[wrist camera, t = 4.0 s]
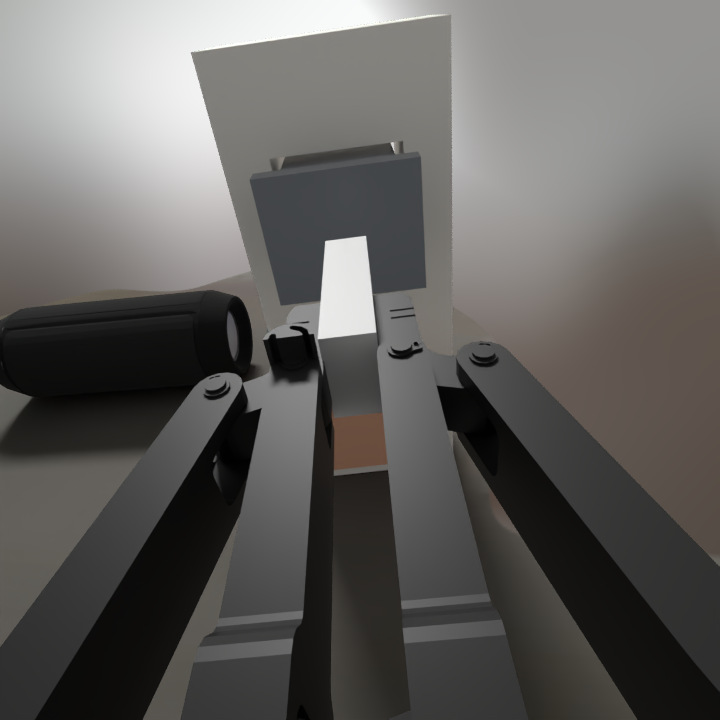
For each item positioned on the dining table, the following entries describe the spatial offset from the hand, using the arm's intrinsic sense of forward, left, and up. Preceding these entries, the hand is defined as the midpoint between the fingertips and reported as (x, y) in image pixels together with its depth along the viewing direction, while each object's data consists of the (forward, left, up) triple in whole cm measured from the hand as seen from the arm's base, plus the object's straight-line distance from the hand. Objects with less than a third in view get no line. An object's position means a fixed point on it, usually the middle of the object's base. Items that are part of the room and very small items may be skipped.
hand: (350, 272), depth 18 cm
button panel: (0, +13, -23) cm, 26 cm away
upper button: (0, +9, -4) cm, 10 cm away
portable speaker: (-26, +27, -23) cm, 44 cm away
